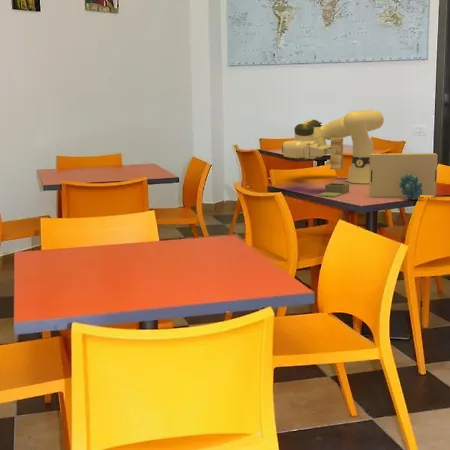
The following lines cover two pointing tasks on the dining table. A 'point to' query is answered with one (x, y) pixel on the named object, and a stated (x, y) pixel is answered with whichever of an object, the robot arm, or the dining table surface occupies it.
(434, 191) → the packaging
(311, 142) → the robot arm
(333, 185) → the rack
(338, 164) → the block
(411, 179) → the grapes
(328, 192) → the mat
